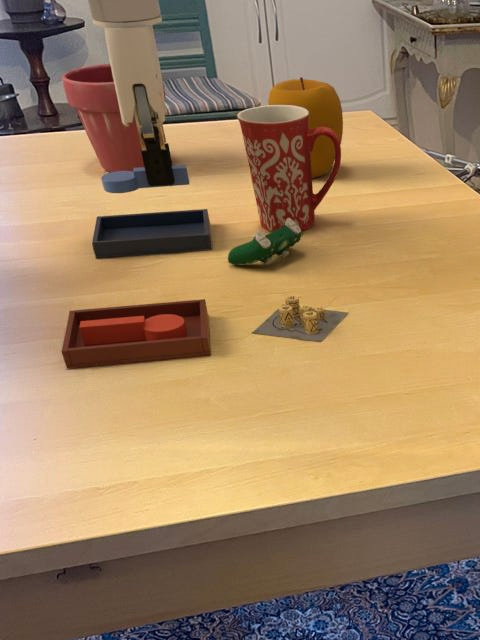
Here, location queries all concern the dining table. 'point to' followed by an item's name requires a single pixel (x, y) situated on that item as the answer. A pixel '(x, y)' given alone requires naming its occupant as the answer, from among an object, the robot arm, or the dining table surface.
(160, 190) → the dining table surface
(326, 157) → the apple
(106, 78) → the flower pot
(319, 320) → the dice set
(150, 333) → the red spoon
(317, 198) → the mug
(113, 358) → the red tray
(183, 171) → the blue spoon
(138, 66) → the robot arm
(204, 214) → the blue tray
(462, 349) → the dining table surface
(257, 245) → the green elongated piece
